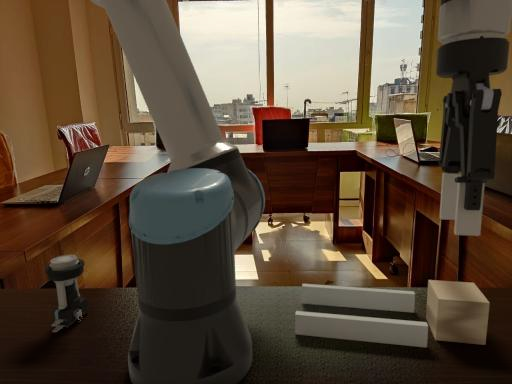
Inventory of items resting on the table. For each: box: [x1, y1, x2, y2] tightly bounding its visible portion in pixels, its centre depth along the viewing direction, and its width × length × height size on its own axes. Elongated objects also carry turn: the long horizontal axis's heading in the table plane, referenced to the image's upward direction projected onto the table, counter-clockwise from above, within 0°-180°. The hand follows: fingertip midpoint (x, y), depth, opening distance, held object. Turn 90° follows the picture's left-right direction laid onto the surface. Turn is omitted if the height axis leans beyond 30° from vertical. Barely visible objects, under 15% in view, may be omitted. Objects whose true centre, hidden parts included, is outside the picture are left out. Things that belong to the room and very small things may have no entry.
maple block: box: [425, 279, 490, 346], centre depth 52 cm, size 6×6×6 cm
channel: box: [294, 283, 429, 348], centre depth 55 cm, size 17×10×3 cm, turn 77°
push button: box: [44, 254, 89, 333], centre depth 56 cm, size 7×5×10 cm
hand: (458, 225), depth 49 cm, fingers open, 7 cm apart
